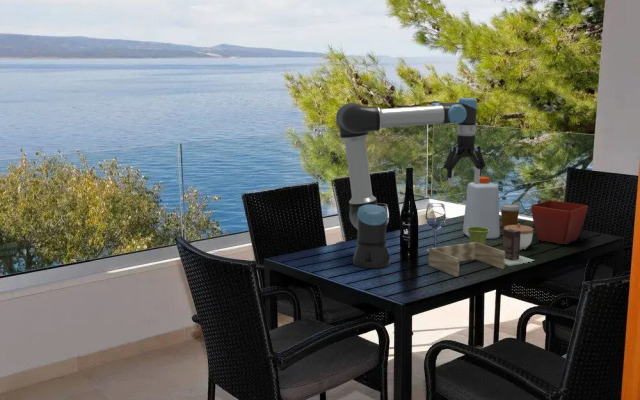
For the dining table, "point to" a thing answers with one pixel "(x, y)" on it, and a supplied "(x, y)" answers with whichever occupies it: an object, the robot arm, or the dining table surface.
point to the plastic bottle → (482, 207)
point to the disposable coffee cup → (509, 214)
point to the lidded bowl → (523, 234)
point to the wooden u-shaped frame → (464, 256)
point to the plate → (517, 261)
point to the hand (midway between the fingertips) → (463, 184)
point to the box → (511, 243)
